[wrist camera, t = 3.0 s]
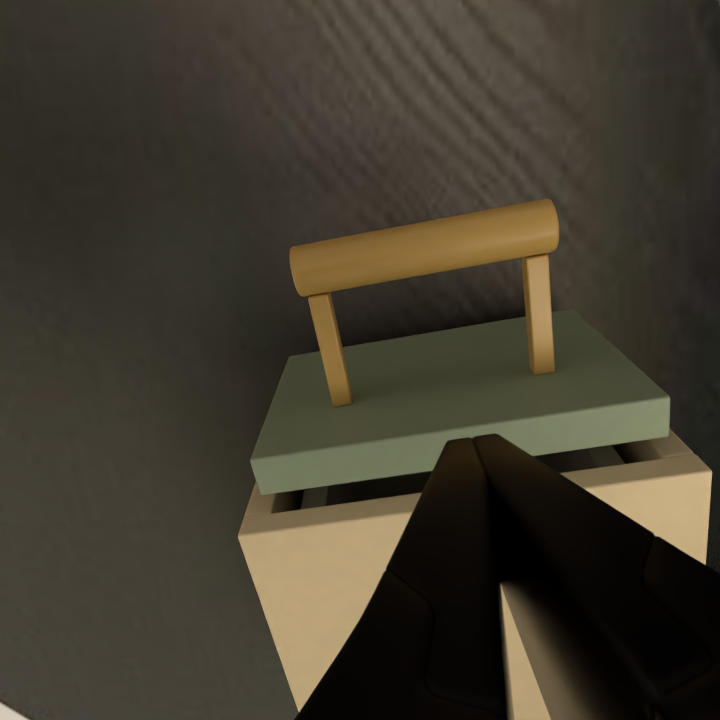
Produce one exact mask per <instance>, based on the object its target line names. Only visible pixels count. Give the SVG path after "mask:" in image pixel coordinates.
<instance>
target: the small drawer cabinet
mask: <svg viewBox="0 0 720 720" xmlns="http://www.w3.org/2000/svg"><path fill="white" fill-rule="evenodd" d="M612 447H613V448H614V449H615V451H616V452H617V453H618V455H619V456H620V457H621V459H622V460H623V461H624V463H625V464H621V465H614V466H607V467H600V468H593V469H586V470H578V471H571V472H564V473H560V474H562V475H563V476H565V477H566V478H568V479H570V480H571V481H573V482H574V483H576V484H577V485H579V486H580V487H582V488H584V489H585V490H587V491H588V492H590V493H591V494H593V495H595V496H596V497H598V498H599V499H601V500H602V501H604V502H606V503H607V504H609V505H610V506H612V507H613V508H615V509H617V510H618V511H620V512H621V513H623V514H624V515H626V516H628V517H629V518H631V519H632V520H634V521H635V522H637V523H639V524H640V525H642V526H643V527H645V528H646V529H648V530H650V531H651V532H653V533H654V535H655V536H659V537H661V538H663V539H664V540H666V541H667V542H669V543H670V544H672V545H674V546H675V547H677V548H678V549H680V550H681V551H683V552H685V553H686V554H688V555H690V556H691V557H693V558H695V559H696V560H698V561H700V562H701V563H703V564H705V565H706V553H707V538H708V524H709V510H710V496H711V481H712V471H711V469H710V468H709V467H708V466H707V465H706V464H705V463H704V462H703V461H702V460H701V459H700V458H699V457H698V456H697V455H694V454H693V452H692V451H691V450H690V449H689V448H688V447H687V446H686V445H685V444H684V443H683V442H682V441H681V440H680V439H679V438H678V436H677V435H676V434H675V433H674V432H673V431H672V430H671V429H670V428H669V436H668V437H663V438H656V439H649V440H642V441H635V442H628V443H621V444H614V445H612ZM303 494H304V489H302V490H295V491H288V492H281V493H274V494H267V495H261V494H260V491H259V488H258V485H257V482H256V483H255V485H254V488H253V491H252V494H251V497H250V500H249V503H248V506H247V509H246V512H245V515H244V519H243V522H242V525H241V528H240V531H239V534H238V539H239V542H240V544H241V547H242V550H243V553H244V556H245V559H246V562H247V565H248V567H249V570H250V573H251V576H252V579H253V582H254V585H255V588H256V590H257V593H258V596H259V599H260V602H261V605H262V608H263V611H264V613H265V616H266V619H267V622H268V625H269V628H270V631H271V634H272V636H273V639H274V642H275V645H276V648H277V651H278V654H279V657H280V659H281V662H282V665H283V668H284V671H285V674H286V677H287V680H288V682H289V685H290V688H291V691H292V694H293V697H294V700H295V703H296V705H297V708H298V711H299V712H300V710H301V709H302V707H303V706H304V704H305V703H306V701H307V700H308V698H309V697H310V695H311V694H312V692H313V691H314V689H315V688H316V686H317V685H318V683H319V682H320V680H321V679H322V677H323V676H324V674H325V673H326V671H327V670H328V668H329V667H330V665H331V664H332V662H333V661H334V659H335V658H336V656H337V655H338V653H339V652H340V650H341V648H342V647H343V645H344V644H345V642H346V640H347V639H348V637H349V636H350V634H351V632H352V631H353V629H354V628H355V626H356V624H357V623H358V621H359V620H360V618H361V616H362V614H363V612H364V610H365V608H366V606H367V604H368V603H369V601H370V599H371V597H372V595H373V593H374V591H375V589H376V587H377V585H378V583H379V581H380V579H381V576H382V574H383V572H384V571H386V567H387V565H388V562H389V560H390V558H391V556H392V554H393V552H394V550H395V548H396V546H397V544H398V542H399V540H400V537H401V535H402V533H403V531H404V529H405V527H406V525H407V523H408V521H409V519H410V517H411V514H412V512H413V510H414V508H415V506H416V504H417V502H418V500H419V498H420V496H421V494H422V493H415V494H408V495H401V496H394V497H386V498H379V499H372V500H365V501H358V502H351V503H344V504H337V505H329V506H322V507H315V508H308V509H301V504H302V499H303ZM501 592H502V602H503V612H504V621H505V631H506V641H507V651H508V661H509V671H510V681H511V691H512V700H513V710H514V720H551V719H550V716H549V713H548V710H547V708H546V705H545V702H544V700H543V697H542V694H541V692H540V689H539V686H538V684H537V681H536V678H535V676H534V673H533V670H532V668H531V665H530V662H529V660H528V657H527V654H526V652H525V649H524V646H523V643H522V641H521V638H520V635H519V633H518V630H517V627H516V625H515V622H514V619H513V617H512V614H511V611H510V609H509V606H508V603H507V601H506V598H505V595H504V593H503V590H502V587H501Z"/></svg>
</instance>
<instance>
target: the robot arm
mask: <svg viewBox="0 0 720 720" xmlns="http://www.w3.org/2000/svg"><path fill="white" fill-rule="evenodd" d="M501 587H502V590H503V593H504V595H505V598H506V601H507V603H508V606H509V609H510V611H511V614H512V617H513V619H514V622H515V625H516V627H517V630H518V633H519V635H520V638H521V641H522V643H523V646H524V649H525V652H526V654H527V657H528V660H529V662H530V665H531V668H532V670H533V673H534V676H535V678H536V681H537V684H538V686H539V689H540V692H541V694H542V697H543V700H544V702H545V705H546V708H547V710H548V713H549V716H550V719H551V720H720V574H719V573H718V572H716V571H715V570H713V569H711V568H710V567H708V566H706V565H705V564H703V563H701V562H700V561H698V560H696V559H695V558H693V557H691V556H690V555H688V554H686V553H685V552H683V551H681V550H680V549H678V548H677V547H675V546H674V545H672V544H670V543H669V542H667V541H666V540H664V539H663V538H661V537H659V536H655V535H654V533H653V532H651V531H650V530H648V529H646V528H645V527H643V526H642V525H640V524H639V523H637V522H635V521H634V520H632V519H631V518H629V517H628V516H626V515H624V514H623V513H621V512H620V511H618V510H617V509H615V508H613V507H612V506H610V505H609V504H607V503H606V502H604V501H602V500H601V499H599V498H598V497H596V496H595V495H593V494H591V493H590V492H588V491H587V490H585V489H584V488H582V487H580V486H579V485H577V484H576V483H574V482H573V481H571V480H570V479H568V478H566V477H565V476H563V475H562V474H560V473H559V472H557V471H555V470H554V469H552V468H551V467H549V466H548V465H546V464H544V463H543V462H541V461H540V460H538V459H537V458H535V457H533V456H532V455H530V454H529V453H527V452H526V451H524V450H522V449H521V448H519V447H518V446H516V445H515V444H513V443H511V442H510V441H508V440H507V439H505V438H504V437H502V436H500V435H499V434H496V433H493V434H486V435H480V436H475V437H473V438H470V437H466V438H459V439H453V440H448V441H447V442H446V444H445V446H444V448H443V450H442V452H441V454H440V456H439V458H438V460H437V462H436V464H435V466H434V469H433V471H432V473H431V475H430V477H429V479H428V481H427V483H426V485H425V487H424V489H423V491H422V494H421V496H420V498H419V500H418V502H417V504H416V506H415V508H414V510H413V512H412V514H411V517H410V519H409V521H408V523H407V525H406V527H405V529H404V531H403V533H402V535H401V537H400V540H399V542H398V544H397V546H396V548H395V550H394V552H393V554H392V556H391V558H390V560H389V562H388V565H387V567H386V571H384V572H383V574H382V576H381V579H380V581H379V583H378V585H377V587H376V589H375V591H374V593H373V595H372V597H371V599H370V601H369V603H368V604H367V606H366V608H365V610H364V612H363V614H362V616H361V618H360V620H359V621H358V623H357V624H356V626H355V628H354V629H353V631H352V632H351V634H350V636H349V637H348V639H347V640H346V642H345V644H344V645H343V647H342V648H341V650H340V652H339V653H338V655H337V656H336V658H335V659H334V661H333V662H332V664H331V665H330V667H329V668H328V670H327V671H326V673H325V674H324V676H323V677H322V679H321V680H320V682H319V683H318V685H317V686H316V688H315V689H314V691H313V692H312V694H311V695H310V697H309V698H308V700H307V701H306V703H305V704H304V706H303V707H302V709H301V710H300V712H299V713H298V715H297V716H296V718H295V719H294V720H514V710H513V700H512V691H511V681H510V671H509V661H508V651H507V641H506V631H505V621H504V612H503V602H502V592H501Z"/></svg>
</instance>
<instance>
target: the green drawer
mask: <svg viewBox="0 0 720 720" xmlns="http://www.w3.org/2000/svg"><path fill="white" fill-rule="evenodd" d="M558 241H559V223H558V217H557V213H556V209H555V207H554V204H553V203H552V201H551V200H550V199H541V200H536V201H531V202H525V203H520V204H515V205H509V206H504V207H499V208H493V209H488V210H483V211H478V212H472V213H467V214H462V215H456V216H451V217H446V218H440V219H435V220H430V221H424V222H419V223H414V224H409V225H403V226H398V227H393V228H387V229H382V230H377V231H371V232H366V233H361V234H355V235H350V236H345V237H340V238H334V239H329V240H324V241H318V242H313V243H308V244H302V245H297V246H293V247H291V249H290V266H291V272H292V277H293V281H294V284H295V287H296V290H297V292H298V293H299V295H300V296H309V297H308V301H309V306H310V310H311V314H312V318H313V323H314V327H315V331H316V335H317V340H318V344H319V348H320V351H318V352H312V353H306V354H300V355H294V356H289V358H288V361H287V363H286V366H285V368H284V371H283V374H282V376H281V379H280V382H279V384H278V387H277V390H276V392H275V395H274V398H273V400H272V403H271V406H270V408H269V411H268V413H267V416H266V419H265V421H264V424H263V427H262V429H261V432H260V435H259V437H258V440H257V443H256V445H255V448H254V451H253V453H252V456H251V459H250V463H251V466H252V469H253V472H254V476H255V479H256V482H257V485H258V488H259V491H260V494H261V495H267V494H274V493H281V492H288V491H295V490H302V489H304V494H303V499H302V504H301V509H308V508H315V507H322V506H329V505H337V504H344V503H351V502H358V501H365V500H372V499H379V498H386V497H394V496H401V495H408V494H415V493H422V491H423V489H424V487H425V485H426V483H427V481H428V479H429V477H430V475H431V473H432V471H433V469H434V466H435V464H436V462H437V460H438V458H439V456H440V454H441V452H442V450H443V448H444V446H445V444H446V442H447V441H448V440H453V439H459V438H466V437H470V438H473V437H475V436H480V435H486V434H493V433H496V434H499V435H500V436H502V437H504V438H505V439H507V440H508V441H510V442H511V443H513V444H515V445H516V446H518V447H519V448H521V449H522V450H524V451H526V452H527V453H529V454H530V455H532V456H533V457H535V458H537V459H538V460H540V461H541V462H543V463H544V464H546V465H548V466H549V467H551V468H552V469H554V470H555V471H557V472H559V473H564V472H571V471H578V470H586V469H593V468H600V467H607V466H614V465H621V464H625V463H624V461H623V460H622V459H621V457H620V456H619V455H618V453H617V452H616V451H615V449H614V448H613V447H612V445H614V444H621V443H628V442H635V441H642V440H649V439H656V438H663V437H668V436H669V419H670V397H669V395H667V394H666V393H665V392H664V391H663V390H662V389H661V388H660V387H659V386H658V385H656V384H655V383H654V382H653V381H652V380H651V379H650V378H649V377H648V376H646V375H645V374H644V373H643V372H642V371H641V370H640V369H639V368H638V367H637V366H635V365H634V364H633V363H632V362H631V361H630V360H629V359H628V358H627V357H625V356H624V355H623V354H622V353H621V352H620V351H619V350H618V349H617V348H616V347H614V346H613V345H612V344H611V343H610V342H609V341H608V340H607V339H606V338H605V337H603V336H602V335H601V334H600V333H599V332H598V331H597V330H596V329H595V328H593V327H592V326H591V325H590V324H589V323H588V322H587V321H586V320H585V319H584V318H582V317H581V316H580V315H579V314H578V313H577V312H576V311H575V310H574V309H567V310H561V311H555V312H552V310H551V293H550V275H549V258H548V255H547V254H546V253H549V252H553V251H555V250H556V248H557V246H558ZM516 258H521V260H522V273H523V286H524V300H525V313H526V316H525V317H519V318H513V319H507V320H501V321H495V322H489V323H484V324H478V325H472V326H466V327H460V328H454V329H448V330H442V331H436V332H430V333H424V334H418V335H412V336H406V337H401V338H395V339H389V340H383V341H377V342H371V343H365V344H359V345H353V346H347V347H342V343H341V338H340V334H339V329H338V324H337V320H336V315H335V311H334V306H333V301H332V297H331V291H337V290H343V289H348V288H354V287H359V286H365V285H371V284H376V283H382V282H387V281H393V280H398V279H404V278H410V277H415V276H421V275H426V274H432V273H438V272H443V271H449V270H454V269H460V268H465V267H471V266H477V265H482V264H488V263H493V262H499V261H505V260H510V259H516Z"/></svg>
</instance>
